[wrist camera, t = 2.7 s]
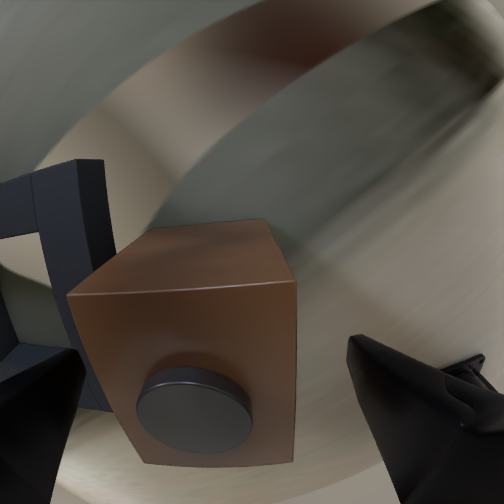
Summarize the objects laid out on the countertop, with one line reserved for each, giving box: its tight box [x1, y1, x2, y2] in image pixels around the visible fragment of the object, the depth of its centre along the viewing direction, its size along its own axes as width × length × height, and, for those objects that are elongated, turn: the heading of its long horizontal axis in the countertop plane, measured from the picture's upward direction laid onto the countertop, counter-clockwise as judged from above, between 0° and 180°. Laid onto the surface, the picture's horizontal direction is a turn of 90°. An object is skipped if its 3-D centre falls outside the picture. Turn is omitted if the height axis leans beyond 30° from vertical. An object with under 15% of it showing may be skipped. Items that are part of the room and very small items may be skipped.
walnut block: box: [67, 219, 297, 467], centre depth 9 cm, size 5×6×8 cm
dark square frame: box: [0, 159, 116, 412], centre depth 11 cm, size 12×12×2 cm
